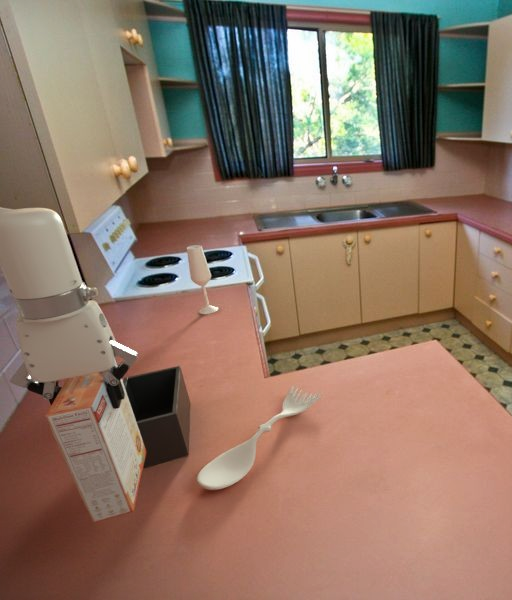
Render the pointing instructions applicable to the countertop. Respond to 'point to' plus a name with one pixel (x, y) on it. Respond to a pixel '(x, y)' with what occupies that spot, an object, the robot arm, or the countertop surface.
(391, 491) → the countertop surface
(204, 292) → the champagne flute
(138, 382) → the open box
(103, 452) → the cracker box
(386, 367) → the countertop surface
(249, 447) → the spoon
